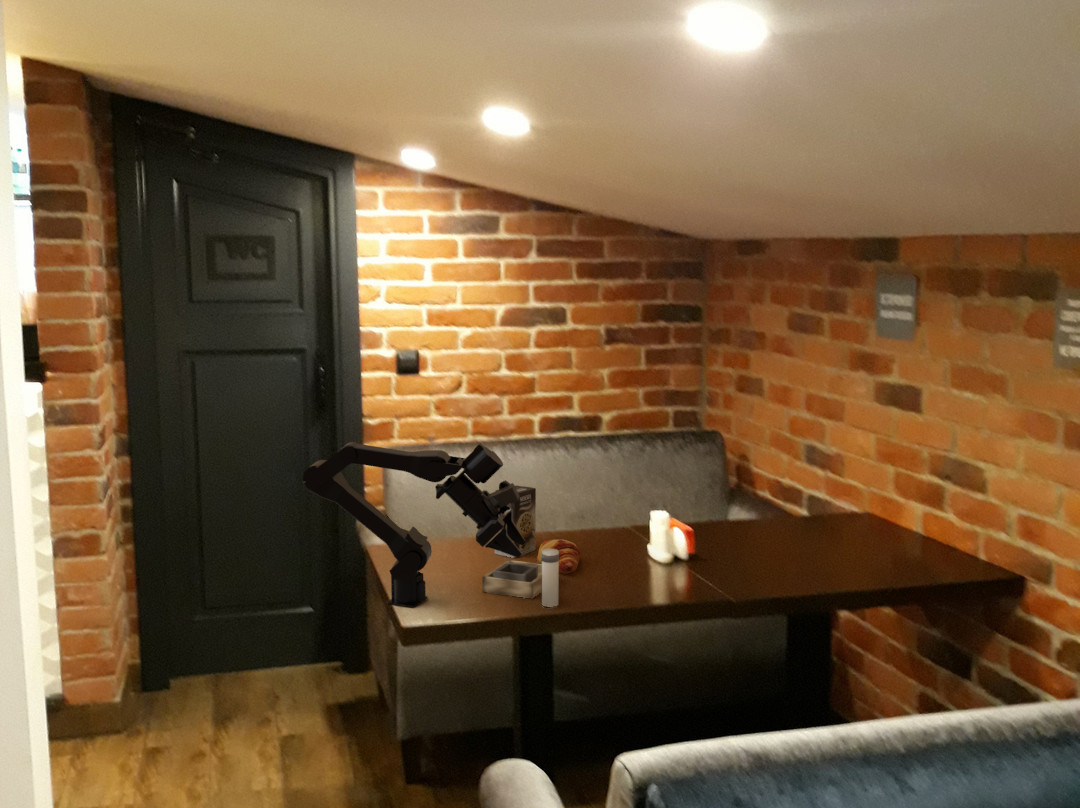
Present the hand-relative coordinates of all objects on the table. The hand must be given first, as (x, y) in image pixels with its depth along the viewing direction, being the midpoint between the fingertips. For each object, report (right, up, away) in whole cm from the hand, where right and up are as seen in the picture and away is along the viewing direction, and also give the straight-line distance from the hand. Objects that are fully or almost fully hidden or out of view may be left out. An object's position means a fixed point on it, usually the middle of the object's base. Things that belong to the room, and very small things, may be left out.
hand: (522, 549), depth 226 cm
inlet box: (-1, -10, +14) cm, 17 cm away
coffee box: (-2, -6, +40) cm, 41 cm away
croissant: (+8, -8, +30) cm, 33 cm away
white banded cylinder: (+6, -12, +1) cm, 14 cm away
